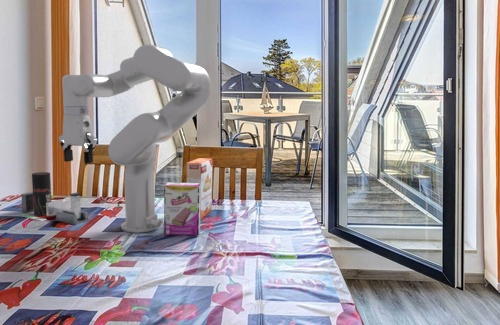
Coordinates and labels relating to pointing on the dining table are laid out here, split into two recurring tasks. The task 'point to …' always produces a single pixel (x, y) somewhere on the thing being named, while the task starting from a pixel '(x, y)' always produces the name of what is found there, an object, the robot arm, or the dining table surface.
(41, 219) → the strips
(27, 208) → the grey flat block
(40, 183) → the deodorant
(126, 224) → the robot arm
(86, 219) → the grey metal bracket
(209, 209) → the cracker box
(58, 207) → the grey angular piece
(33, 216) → the green band
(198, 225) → the candy bar box
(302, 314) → the dining table surface
